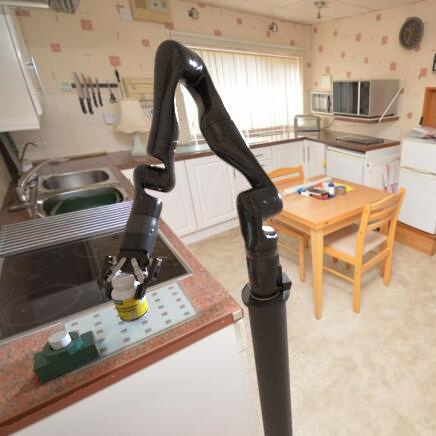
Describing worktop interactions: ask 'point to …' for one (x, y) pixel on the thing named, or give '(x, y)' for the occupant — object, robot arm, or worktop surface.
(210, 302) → the worktop surface
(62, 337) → the white short cylinder
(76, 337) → the button base
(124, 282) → the pill bottle
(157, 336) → the worktop surface
